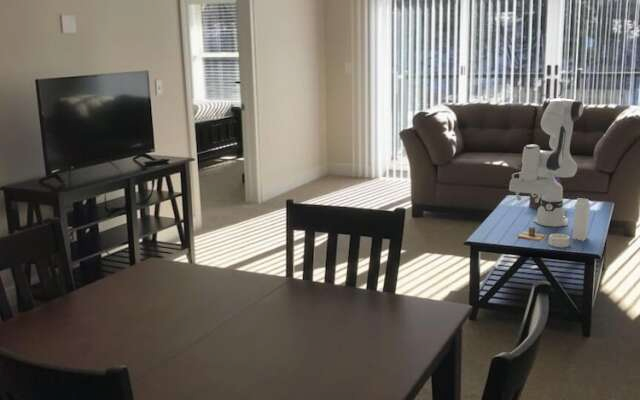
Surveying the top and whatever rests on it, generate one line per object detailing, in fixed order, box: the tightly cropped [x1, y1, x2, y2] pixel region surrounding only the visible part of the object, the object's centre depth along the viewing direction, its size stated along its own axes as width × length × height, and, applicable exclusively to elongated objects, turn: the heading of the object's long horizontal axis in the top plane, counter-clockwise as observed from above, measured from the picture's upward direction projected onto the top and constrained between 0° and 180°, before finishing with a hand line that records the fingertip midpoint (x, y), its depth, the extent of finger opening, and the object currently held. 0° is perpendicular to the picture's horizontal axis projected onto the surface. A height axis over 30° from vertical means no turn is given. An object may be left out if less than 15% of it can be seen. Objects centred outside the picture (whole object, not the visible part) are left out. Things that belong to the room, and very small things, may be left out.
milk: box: [572, 197, 591, 242], centre depth 366 cm, size 6×6×22 cm
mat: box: [515, 233, 549, 243], centre depth 372 cm, size 14×14×1 cm
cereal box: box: [528, 176, 562, 209], centre depth 436 cm, size 17×5×24 cm, turn 58°
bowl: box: [548, 233, 571, 248], centre depth 357 cm, size 10×10×5 cm
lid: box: [516, 226, 547, 242], centre depth 371 cm, size 12×12×5 cm
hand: (527, 201), depth 365 cm, fingers open, 8 cm apart
